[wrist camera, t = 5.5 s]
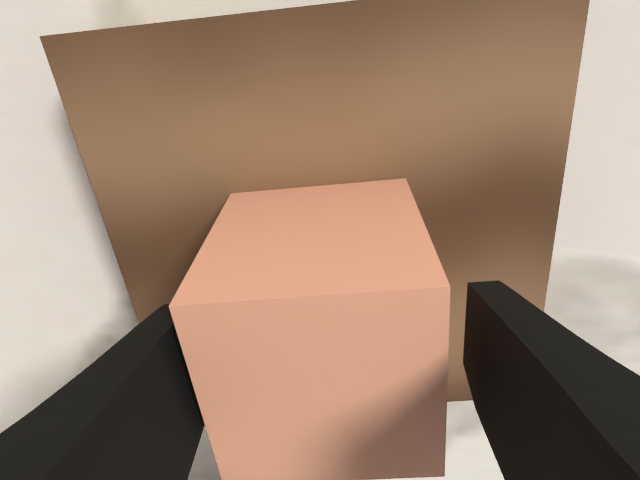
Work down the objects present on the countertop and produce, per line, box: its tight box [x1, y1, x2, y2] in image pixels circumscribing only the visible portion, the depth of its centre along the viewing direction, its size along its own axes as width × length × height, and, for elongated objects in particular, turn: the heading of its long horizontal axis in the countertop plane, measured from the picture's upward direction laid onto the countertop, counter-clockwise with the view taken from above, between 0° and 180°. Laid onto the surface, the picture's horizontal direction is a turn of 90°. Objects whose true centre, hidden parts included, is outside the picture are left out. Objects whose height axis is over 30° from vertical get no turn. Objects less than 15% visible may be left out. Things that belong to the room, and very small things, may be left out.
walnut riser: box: [40, 0, 590, 402], centre depth 14 cm, size 12×12×4 cm
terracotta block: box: [169, 178, 451, 480], centre depth 11 cm, size 4×4×5 cm
